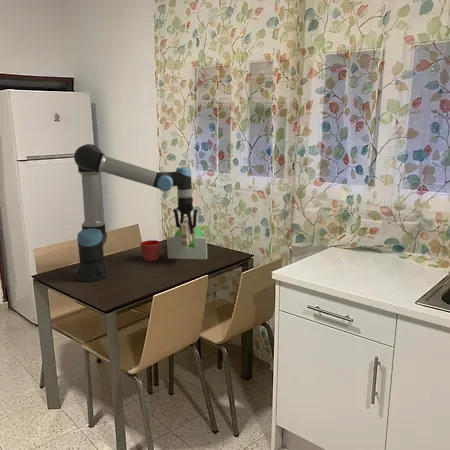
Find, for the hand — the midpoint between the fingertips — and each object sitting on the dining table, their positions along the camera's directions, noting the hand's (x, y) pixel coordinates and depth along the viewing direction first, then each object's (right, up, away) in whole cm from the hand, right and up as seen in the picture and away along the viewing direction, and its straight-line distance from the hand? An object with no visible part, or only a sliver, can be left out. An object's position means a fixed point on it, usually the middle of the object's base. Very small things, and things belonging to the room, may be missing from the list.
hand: (186, 239), depth 245 cm
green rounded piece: (0, -6, +30) cm, 30 cm away
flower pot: (-21, -11, +10) cm, 26 cm away
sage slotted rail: (0, -10, +11) cm, 15 cm away
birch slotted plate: (+1, -1, +4) cm, 4 cm away
